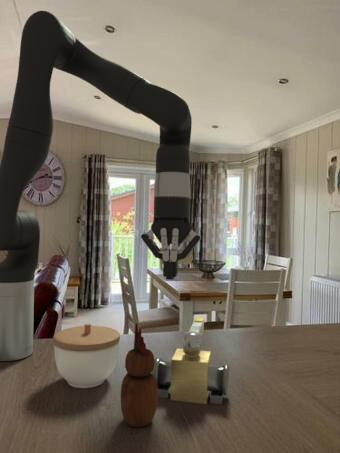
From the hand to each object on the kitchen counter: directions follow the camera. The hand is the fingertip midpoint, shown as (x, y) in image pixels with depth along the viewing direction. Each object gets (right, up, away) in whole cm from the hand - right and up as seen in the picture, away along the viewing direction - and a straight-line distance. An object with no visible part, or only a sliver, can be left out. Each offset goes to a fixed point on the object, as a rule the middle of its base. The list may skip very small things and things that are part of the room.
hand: (170, 279), depth 79 cm
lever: (+5, -12, -5) cm, 14 cm away
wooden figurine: (-5, -20, -19) cm, 28 cm away
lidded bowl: (-16, -19, -5) cm, 26 cm away
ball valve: (+4, -20, -10) cm, 22 cm away
